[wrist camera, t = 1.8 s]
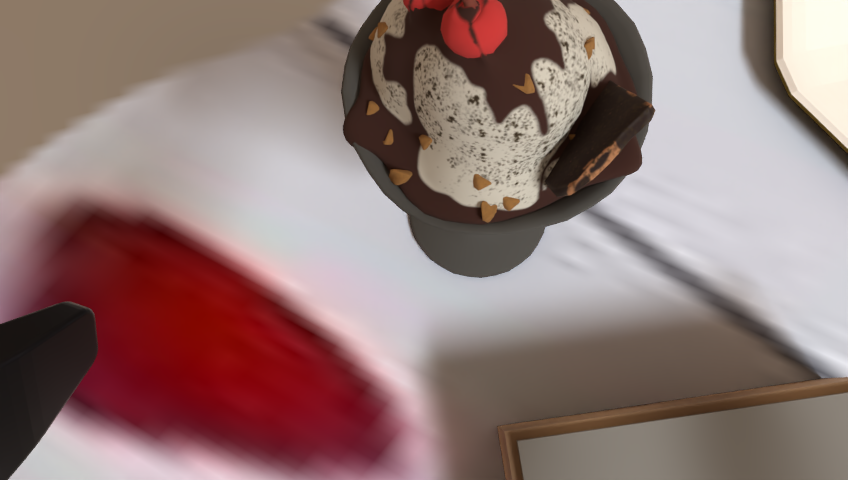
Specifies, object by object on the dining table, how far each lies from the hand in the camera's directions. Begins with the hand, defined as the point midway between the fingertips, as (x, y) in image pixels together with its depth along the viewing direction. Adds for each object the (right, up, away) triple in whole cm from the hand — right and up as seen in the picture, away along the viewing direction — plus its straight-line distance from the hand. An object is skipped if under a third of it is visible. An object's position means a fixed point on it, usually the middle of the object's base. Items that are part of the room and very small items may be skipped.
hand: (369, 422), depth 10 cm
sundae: (+3, +4, +15) cm, 15 cm away
